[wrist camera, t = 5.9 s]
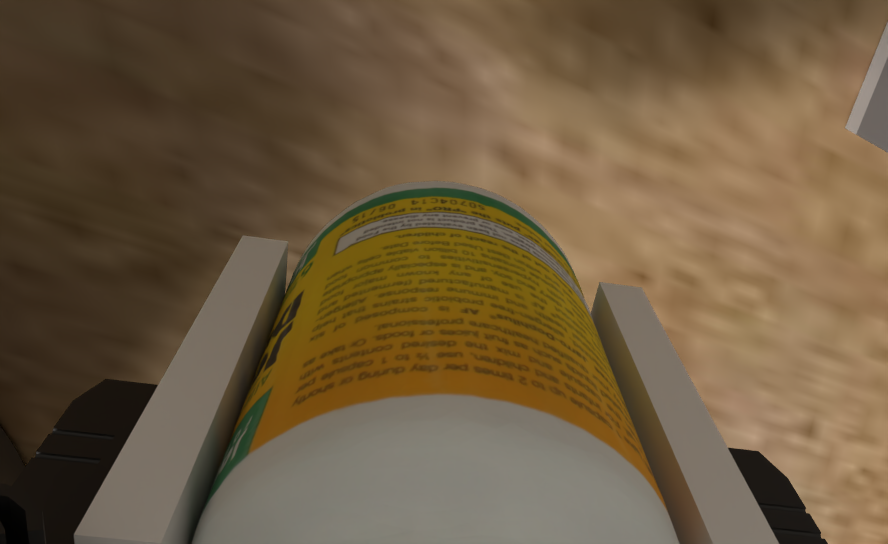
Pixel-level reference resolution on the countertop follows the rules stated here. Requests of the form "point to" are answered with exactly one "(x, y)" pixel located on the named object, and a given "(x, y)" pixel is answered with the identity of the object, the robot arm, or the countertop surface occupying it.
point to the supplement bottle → (434, 392)
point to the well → (873, 100)
